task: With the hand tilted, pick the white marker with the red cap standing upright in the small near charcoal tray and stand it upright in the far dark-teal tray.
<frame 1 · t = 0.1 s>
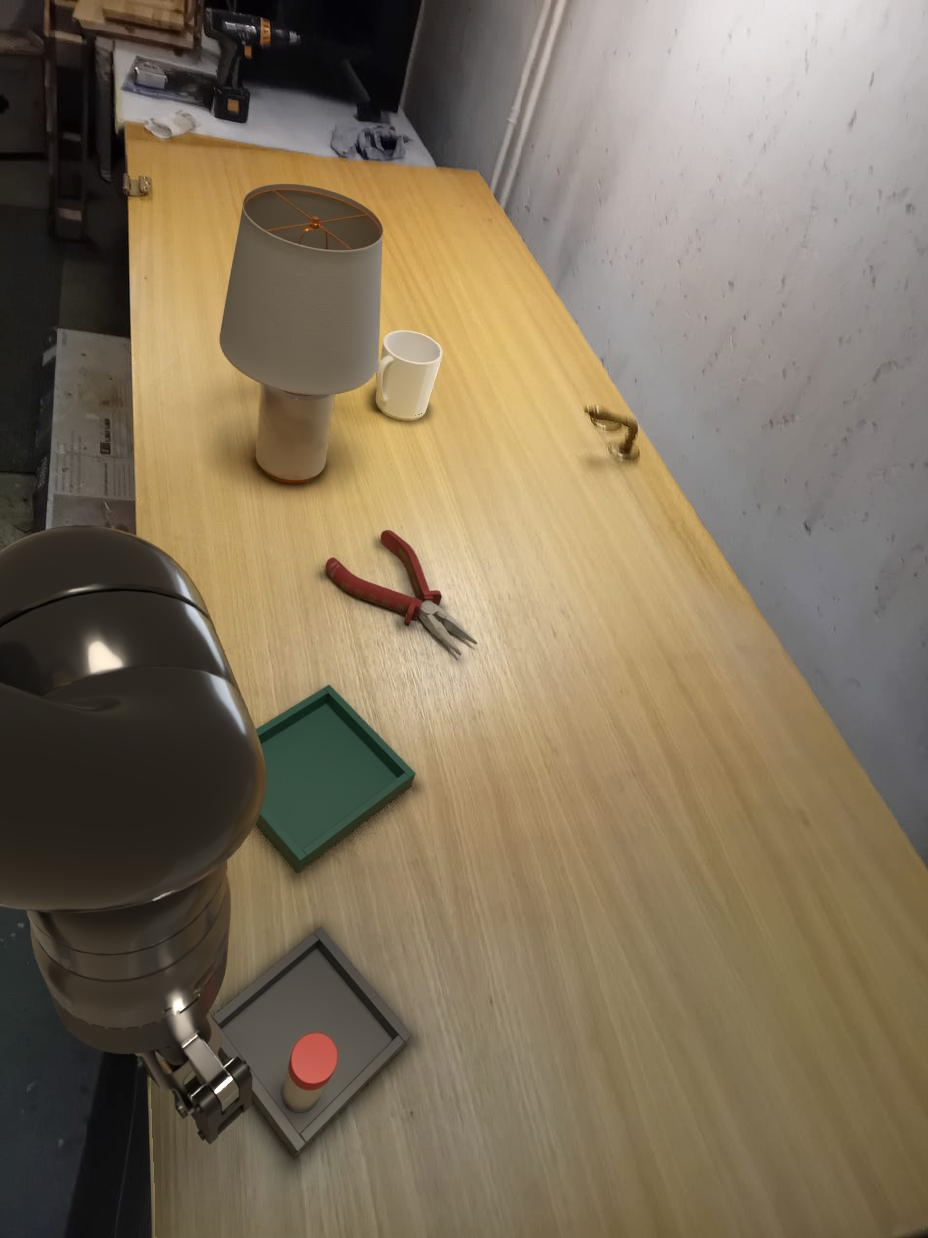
hand: (152, 1037, 46), 20 cm above the workbench, tool pointing down, fingers open, 8 cm apart
tray near: (307, 1038, 66), on the workbench
pliers: (393, 603, 100), on the workbench
marker: (301, 1091, 63), point 1 cm above the workbench, touching tray near
lamp: (288, 465, 112), on the workbench
tray far: (313, 778, 82), on the workbench
mug: (395, 408, 127), on the workbench
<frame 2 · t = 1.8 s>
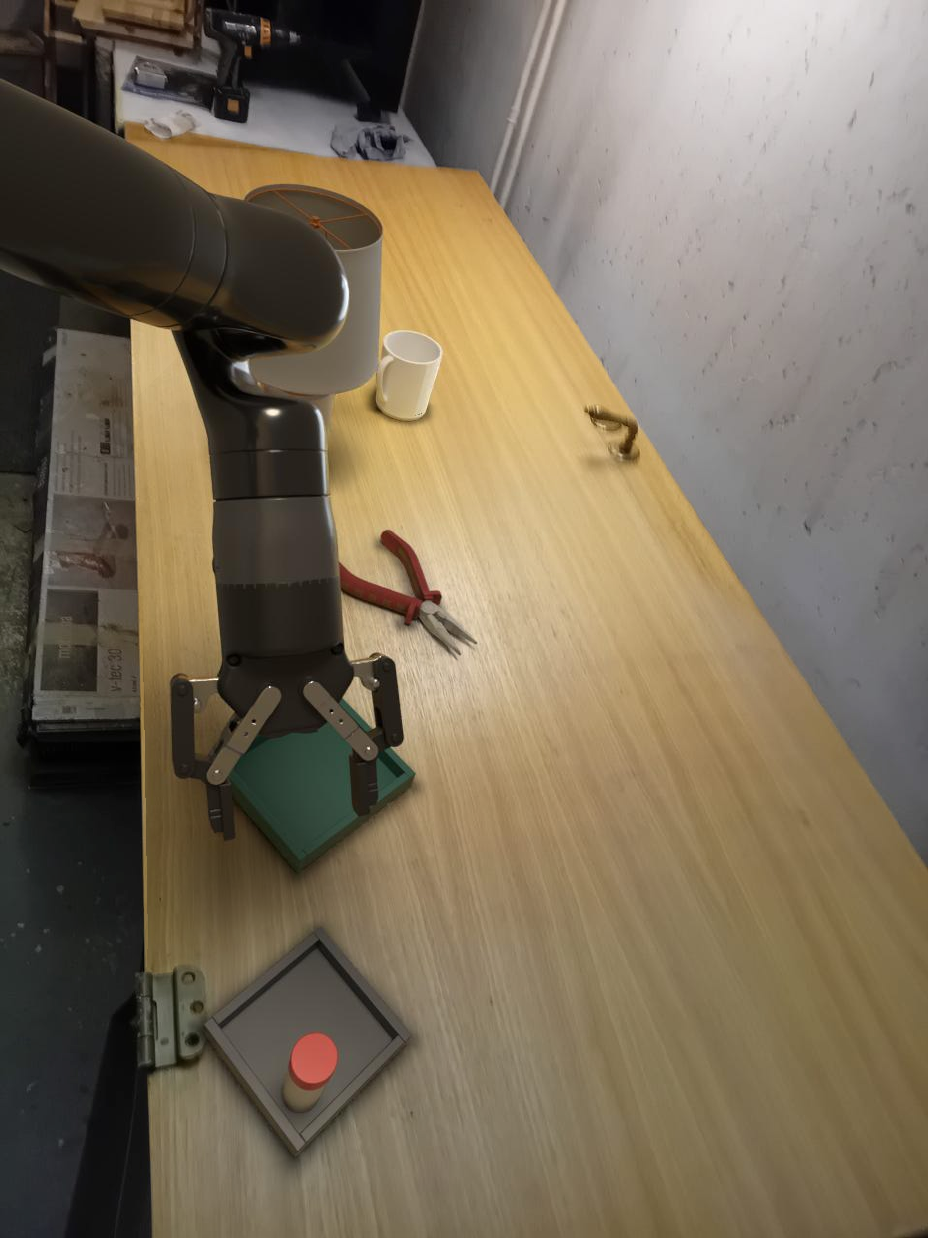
hand: (297, 824, 53), 24 cm above the workbench, tool tilted 45°, fingers open, 8 cm apart
nothing on the workbench moved.
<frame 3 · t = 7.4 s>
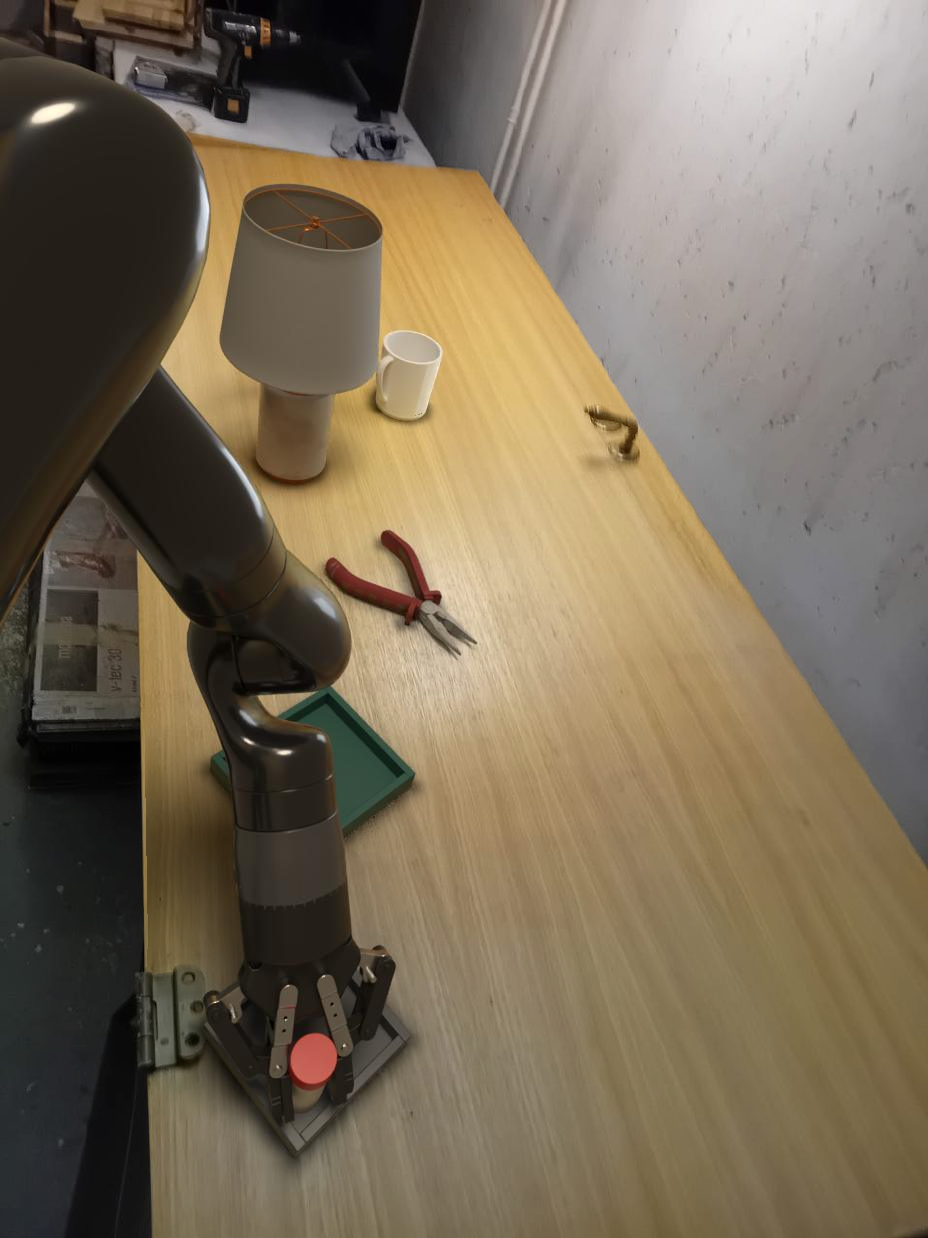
hand: (313, 1105, 59), 6 cm above the workbench, tool tilted 45°, fingers closed on marker, 3 cm apart
marker: (301, 1091, 63), point 1 cm above the workbench, touching gripper, tray near
everything else where it was.
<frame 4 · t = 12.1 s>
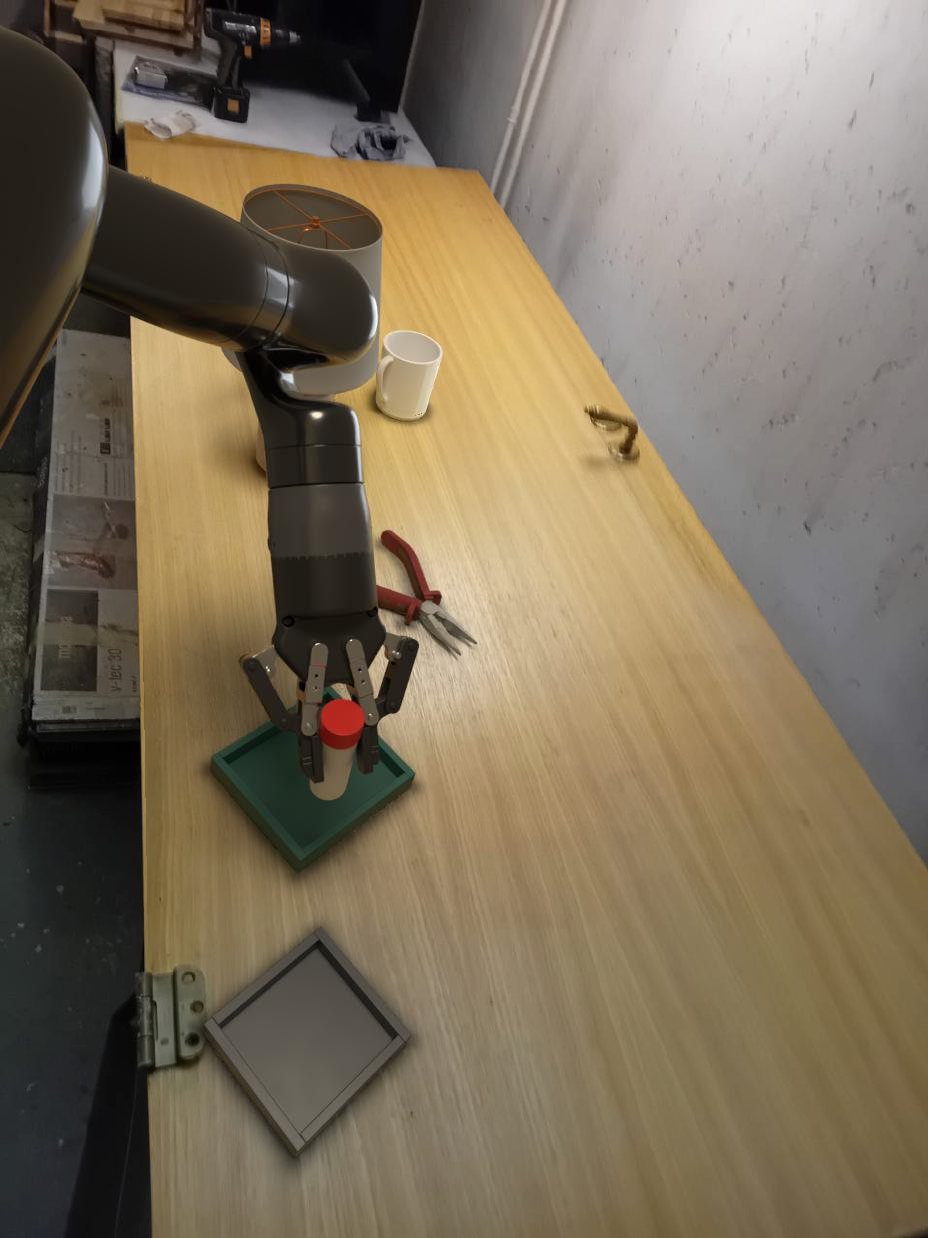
hand: (341, 774, 62), 18 cm above the workbench, tool tilted 45°, fingers closed on marker, 3 cm apart
marker: (327, 784, 67), point 13 cm above the workbench, touching gripper
everything else where it was.
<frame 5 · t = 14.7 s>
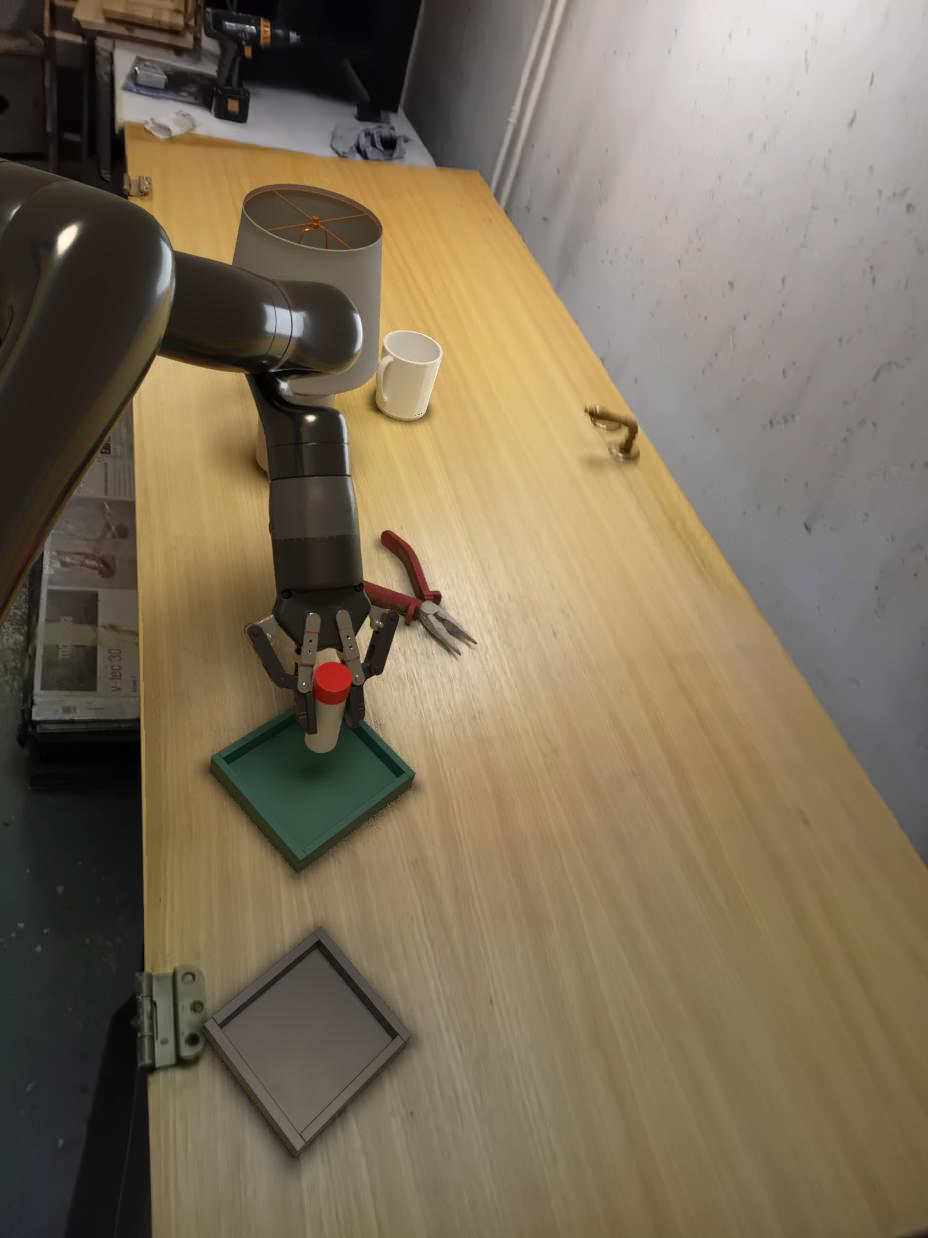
hand: (332, 728, 72), 12 cm above the workbench, tool tilted 45°, fingers closed on marker, 3 cm apart
marker: (320, 739, 77), point 7 cm above the workbench, touching gripper
everything else where it was.
when the fingers open (6 cm above the workbench, at t = 16.8 s): marker stays where it is, resting on tray far.
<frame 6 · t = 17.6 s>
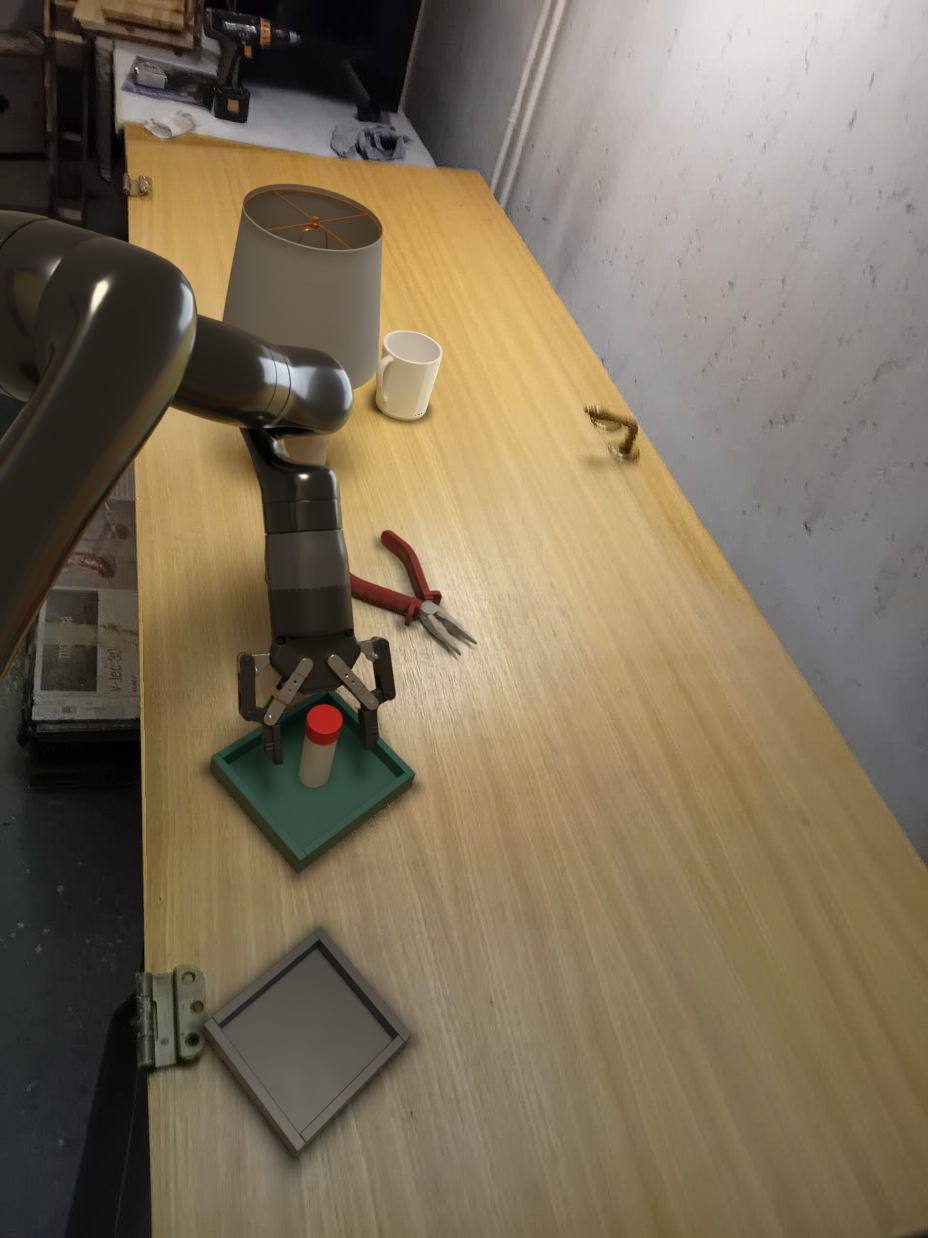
hand: (323, 755, 76), 7 cm above the workbench, tool tilted 45°, fingers open, 8 cm apart
marker: (313, 775, 81), point 1 cm above the workbench, touching tray far
everything else where it was.
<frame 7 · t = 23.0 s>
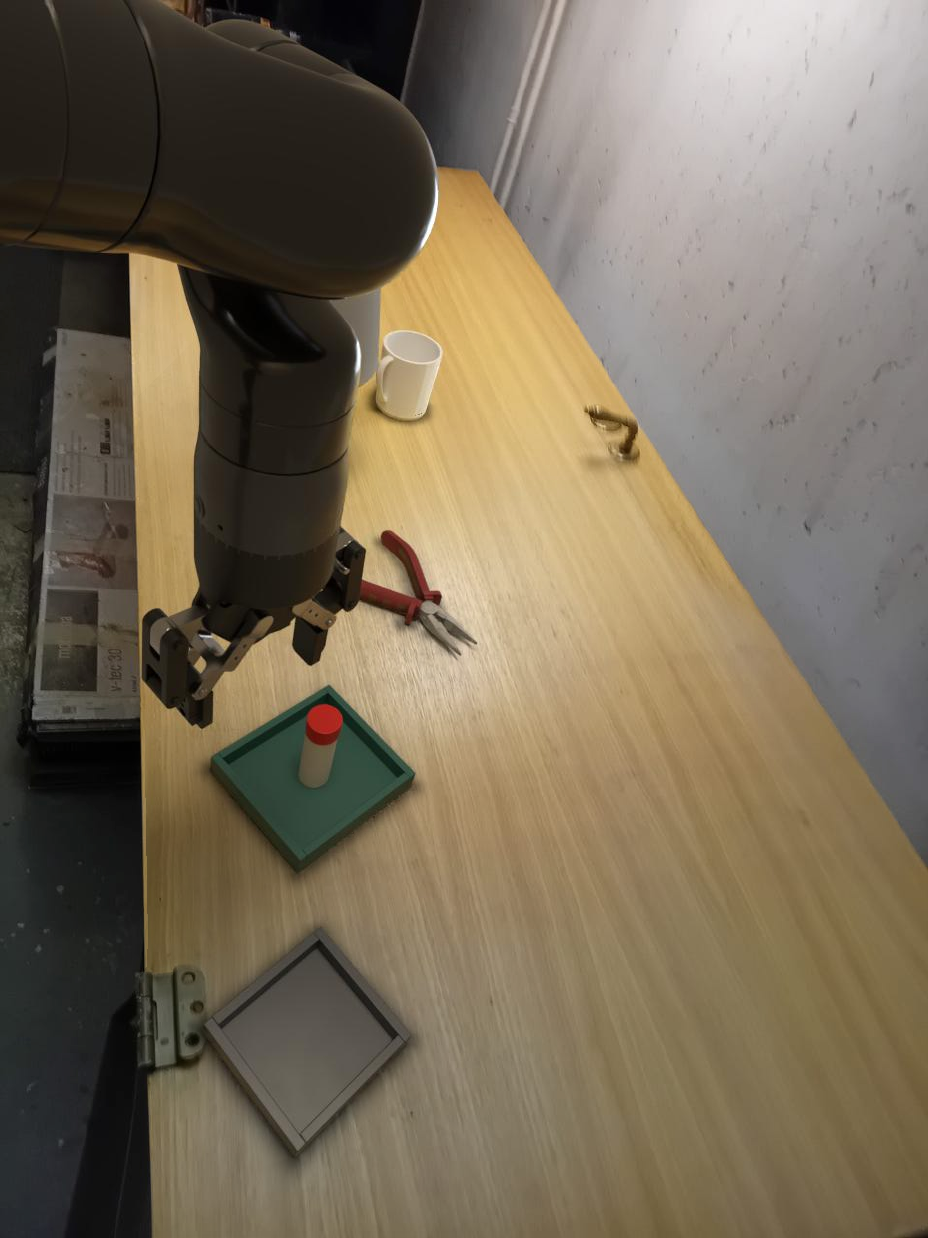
hand: (254, 685, 54), 28 cm above the workbench, tool pointing down, fingers open, 8 cm apart
nothing on the workbench moved.
at the end: marker inside the target area in the tray far (0.1 cm from its centre), point 0.6 cm above the tray far's base; marker tilted 0°; the gripper is holding nothing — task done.
